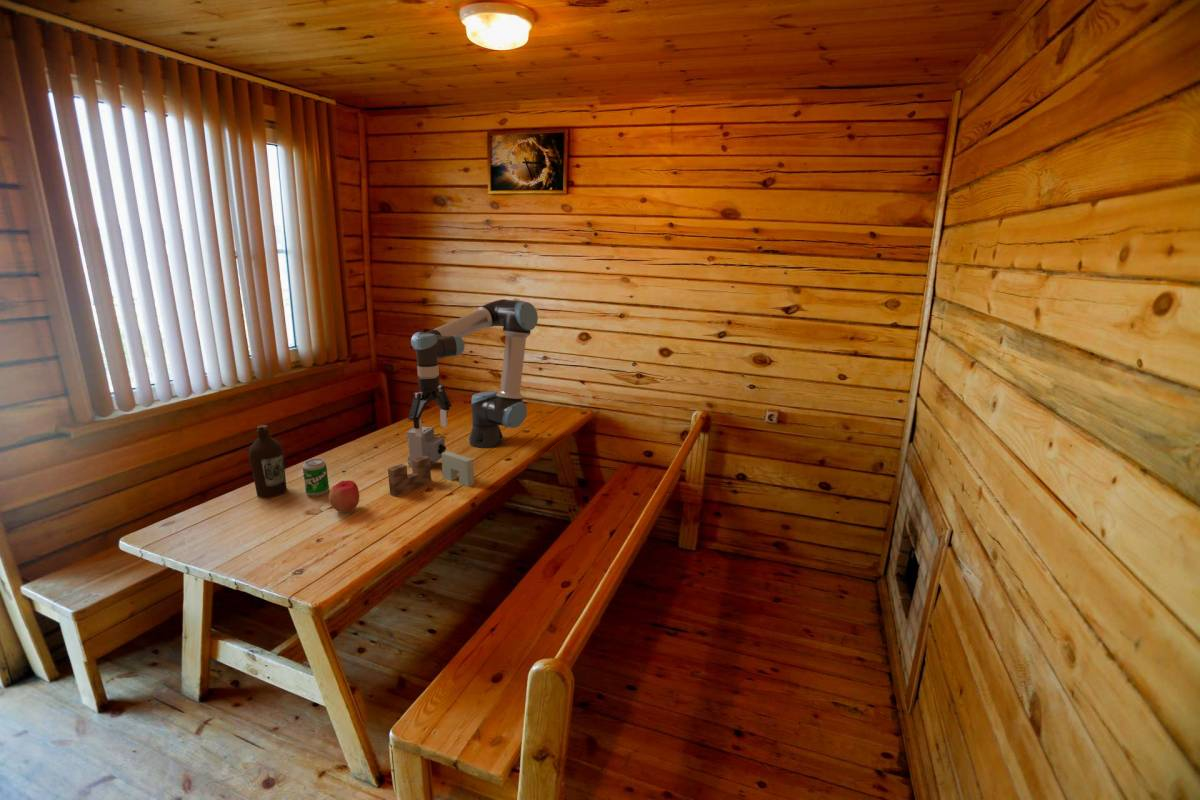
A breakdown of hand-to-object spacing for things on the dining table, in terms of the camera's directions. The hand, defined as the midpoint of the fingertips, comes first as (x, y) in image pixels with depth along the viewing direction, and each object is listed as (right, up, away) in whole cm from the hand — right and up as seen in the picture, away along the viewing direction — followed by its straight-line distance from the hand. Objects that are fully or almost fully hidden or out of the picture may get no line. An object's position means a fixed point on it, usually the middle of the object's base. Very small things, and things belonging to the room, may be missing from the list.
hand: (431, 431), depth 217 cm
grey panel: (+9, -19, +2) cm, 21 cm away
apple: (-22, -26, -23) cm, 41 cm away
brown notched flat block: (-6, -21, -5) cm, 22 cm away
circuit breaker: (-6, -15, +16) cm, 23 cm away
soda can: (-38, -22, -10) cm, 45 cm away
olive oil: (-54, -22, -10) cm, 60 cm away
